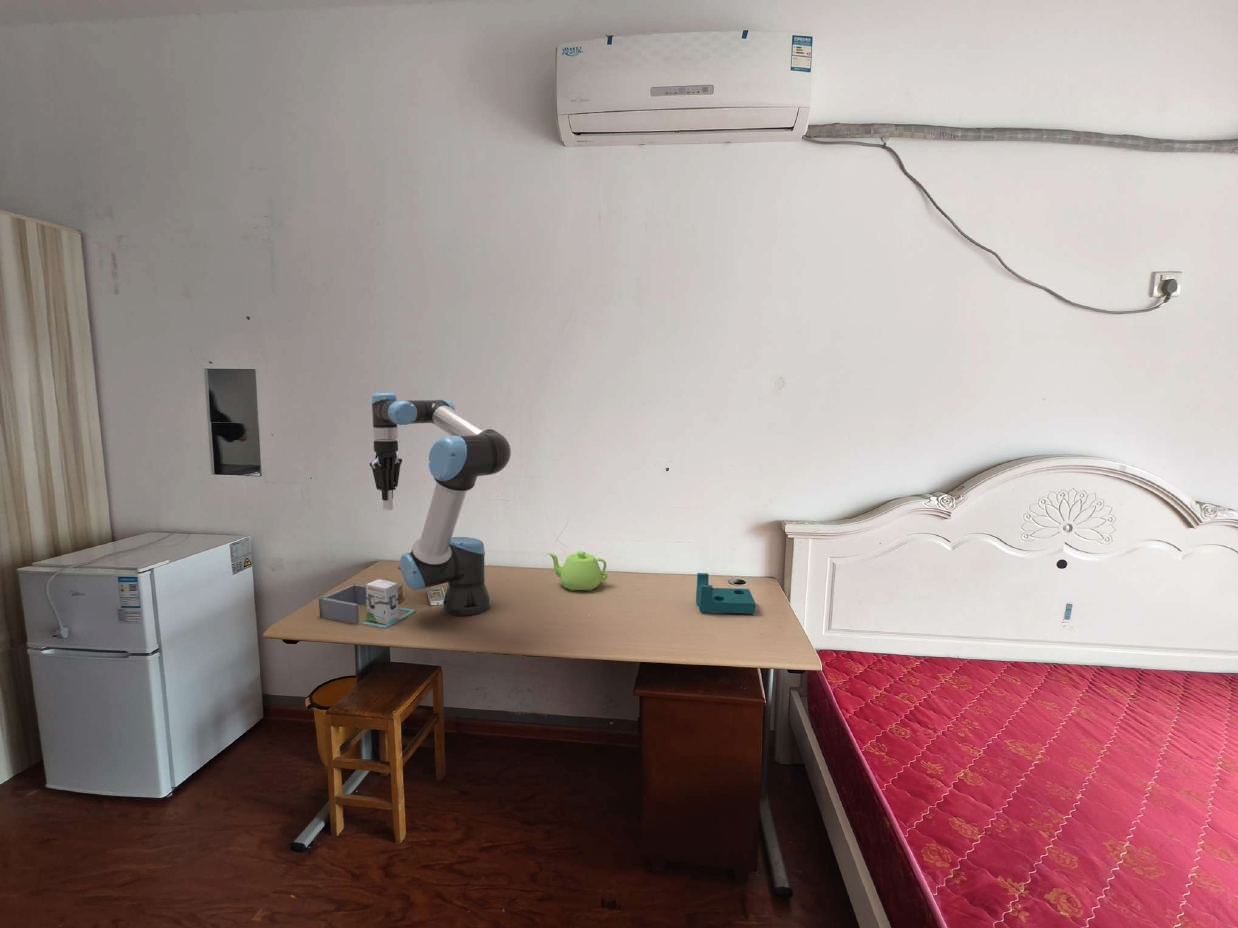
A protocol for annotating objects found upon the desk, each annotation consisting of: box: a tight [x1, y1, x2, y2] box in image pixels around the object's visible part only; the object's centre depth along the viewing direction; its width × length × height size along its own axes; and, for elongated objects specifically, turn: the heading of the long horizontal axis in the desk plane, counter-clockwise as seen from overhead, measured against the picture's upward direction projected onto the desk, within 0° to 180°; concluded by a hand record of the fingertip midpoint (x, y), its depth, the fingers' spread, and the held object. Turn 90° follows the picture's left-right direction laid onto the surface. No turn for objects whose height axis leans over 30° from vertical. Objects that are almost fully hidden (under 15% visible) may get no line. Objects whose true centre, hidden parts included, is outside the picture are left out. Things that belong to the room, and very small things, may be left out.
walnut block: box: [397, 583, 404, 603], centre depth 192 cm, size 5×5×5 cm
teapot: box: [547, 550, 608, 592], centre depth 209 cm, size 22×15×13 cm
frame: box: [362, 606, 417, 630], centre depth 178 cm, size 8×14×1 cm, turn 161°
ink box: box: [365, 578, 399, 625], centre depth 176 cm, size 9×5×12 cm, turn 68°
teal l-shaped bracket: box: [695, 572, 757, 614], centre depth 191 cm, size 18×11×10 cm, turn 90°
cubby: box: [318, 583, 367, 625], centre depth 182 cm, size 14×14×6 cm
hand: (388, 509), depth 193 cm, fingers closed
